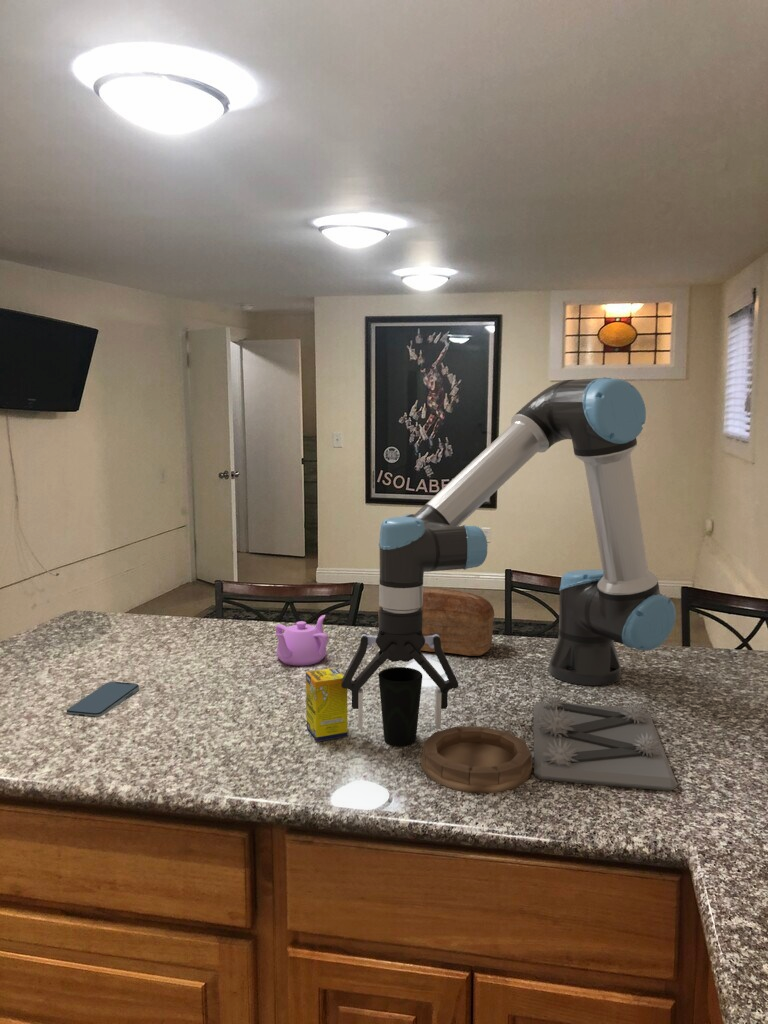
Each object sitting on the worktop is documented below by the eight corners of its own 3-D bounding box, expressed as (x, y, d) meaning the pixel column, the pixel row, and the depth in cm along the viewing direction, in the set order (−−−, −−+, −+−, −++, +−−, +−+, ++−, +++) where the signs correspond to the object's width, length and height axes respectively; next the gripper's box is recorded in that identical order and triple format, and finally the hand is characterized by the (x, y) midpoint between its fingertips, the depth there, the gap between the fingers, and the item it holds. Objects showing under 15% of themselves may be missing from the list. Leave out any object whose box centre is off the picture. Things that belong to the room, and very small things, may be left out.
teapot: (325, 649, 187) (325, 613, 186) (329, 668, 173) (329, 630, 172) (275, 651, 185) (275, 615, 184) (275, 670, 171) (275, 632, 170)
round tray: (519, 741, 136) (520, 725, 135) (543, 792, 118) (543, 773, 117) (417, 742, 135) (417, 725, 135) (425, 793, 117) (425, 774, 117)
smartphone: (63, 710, 147) (108, 680, 161) (64, 718, 147) (108, 688, 162) (99, 713, 145) (141, 683, 160) (99, 722, 146) (141, 691, 160)
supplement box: (305, 729, 140) (304, 671, 139) (337, 724, 143) (336, 667, 141) (316, 742, 135) (315, 681, 134) (348, 736, 137) (347, 677, 136)
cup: (418, 751, 132) (418, 683, 130) (374, 747, 133) (374, 680, 131) (424, 732, 139) (425, 668, 137) (383, 729, 141) (383, 665, 139)
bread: (488, 661, 178) (490, 601, 176) (373, 650, 186) (373, 592, 184) (497, 646, 189) (498, 589, 188) (387, 636, 198) (387, 581, 196)
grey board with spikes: (678, 797, 117) (680, 753, 116) (533, 784, 121) (535, 741, 120) (648, 719, 147) (650, 683, 146) (533, 710, 151) (534, 675, 150)
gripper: (470, 602, 137) (467, 717, 140) (329, 601, 136) (328, 717, 139) (476, 613, 129) (473, 734, 132) (327, 613, 129) (326, 734, 132)
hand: (399, 726), depth 136 cm, fingers open, 13 cm apart
